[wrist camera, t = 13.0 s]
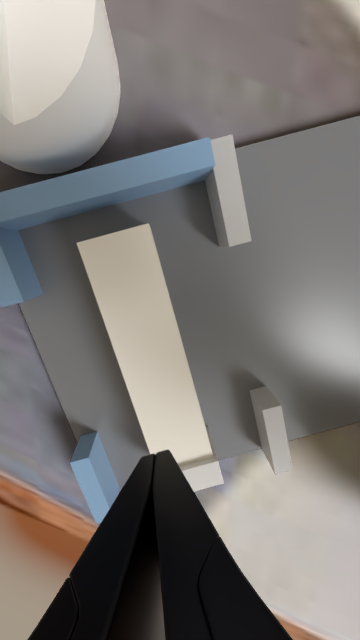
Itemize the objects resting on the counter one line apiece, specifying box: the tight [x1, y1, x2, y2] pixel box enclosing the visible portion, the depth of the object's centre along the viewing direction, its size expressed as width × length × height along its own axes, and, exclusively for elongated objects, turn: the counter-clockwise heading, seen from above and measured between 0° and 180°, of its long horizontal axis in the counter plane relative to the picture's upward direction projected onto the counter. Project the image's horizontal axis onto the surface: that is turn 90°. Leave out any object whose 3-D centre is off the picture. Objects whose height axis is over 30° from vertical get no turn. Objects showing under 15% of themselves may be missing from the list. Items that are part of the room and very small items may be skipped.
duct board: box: [0, 116, 360, 524], centre depth 17 cm, size 20×27×4 cm
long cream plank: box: [77, 223, 224, 491], centre depth 17 cm, size 16×4×3 cm, turn 15°
